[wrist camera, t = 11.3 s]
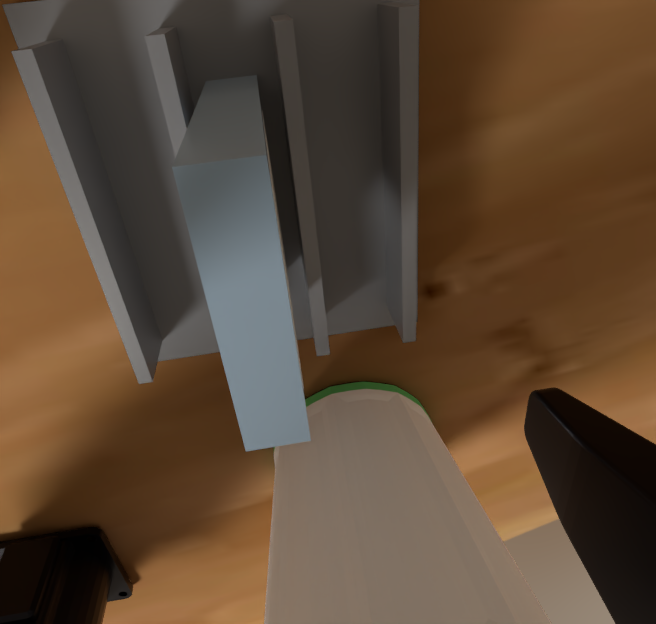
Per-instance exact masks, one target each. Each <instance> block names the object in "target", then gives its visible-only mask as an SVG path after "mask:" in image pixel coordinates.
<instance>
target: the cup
mask: <svg viewBox="0 0 656 624" xmlns="http://www.w3.org/2000/svg"><path fill="white" fill-rule="evenodd" d="M305 402H306V409H307V416H308V423H309V430H310V437H311V441H307V442H301V443H294V444H288V445H282V446H276V447H273V448H274V464H275V479H274V493H273V507H272V521H271V535H270V549H269V563H268V577H267V591H266V605H265V619H264V624H552V623H551V621H550V620H549V618H548V616H547V615H546V613H545V611H544V610H543V608H542V606H541V605H540V603H539V601H538V600H537V598H536V596H535V595H534V593H533V592H532V590H531V588H530V586H529V585H528V583H527V581H526V579H525V578H524V576H523V574H522V573H521V571H520V569H519V568H518V566H517V564H516V563H515V561H514V559H513V558H512V556H511V554H510V553H509V551H508V549H507V548H506V546H505V544H504V543H503V541H502V539H501V538H500V536H499V534H498V533H497V531H496V529H495V528H494V526H493V524H492V523H491V521H490V519H489V518H488V516H487V514H486V512H485V511H484V509H483V507H482V506H481V504H480V502H479V501H478V499H477V497H476V496H475V494H474V492H473V491H472V489H471V487H470V486H469V484H468V482H467V481H466V479H465V477H464V476H463V474H462V472H461V471H460V469H459V467H458V466H457V464H456V462H455V461H454V459H453V457H452V456H451V454H450V452H449V451H448V449H447V447H446V445H445V444H444V442H443V440H442V439H441V437H440V435H439V434H438V432H437V430H436V429H435V427H434V425H433V424H432V421H431V419H430V417H429V416H428V414H427V412H426V410H425V409H424V407H423V406H422V405H421V403H420V402H419V401H418V399H416V398H415V397H413V396H412V395H410V394H409V393H407V392H406V391H404V390H402V389H400V388H398V387H397V386H395V385H388V384H382V383H373V382H356V383H348V384H342V385H336V386H331V387H328V388H326V389H324V390H322V391H320V392H318V393H316V394H314V395H312V396H311V397H309V398H307V399H305Z"/></svg>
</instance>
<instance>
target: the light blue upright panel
mask: <svg viewBox="0 0 656 624" xmlns="http://www.w3.org/2000/svg"><path fill="white" fill-rule="evenodd" d="M172 169H173V173H174V177H175V181H176V185H177V189H178V193H179V196H180V200H181V204H182V208H183V212H184V216H185V220H186V223H187V227H188V231H189V235H190V239H191V243H192V246H193V250H194V254H195V258H196V262H197V266H198V270H199V273H200V277H201V281H202V285H203V289H204V293H205V296H206V300H207V304H208V308H209V312H210V316H211V320H212V323H213V327H214V331H215V335H216V339H217V343H218V347H219V350H220V354H221V358H222V362H223V366H224V370H225V373H226V377H227V381H228V385H229V389H230V393H231V397H232V400H233V404H234V408H235V412H236V416H237V420H238V423H239V427H240V431H241V435H242V439H243V443H244V447H245V450H246V451H252V450H258V449H264V448H270V447H276V446H282V445H288V444H294V443H301V442H307V441H311V437H310V430H309V423H308V416H307V409H306V402H305V395H304V385H303V378H302V371H301V364H300V357H299V350H298V343H297V336H296V329H295V322H294V315H293V308H292V301H291V294H290V288H289V281H288V274H287V267H286V260H285V253H284V247H283V240H282V234H281V227H280V220H279V214H278V207H277V201H276V194H275V188H274V181H273V175H272V168H271V162H270V155H269V149H268V142H267V135H266V129H265V122H264V116H263V111H262V106H261V100H260V93H259V87H258V80H257V75H253V76H244V77H236V78H228V79H220V80H211V81H206V82H205V85H204V87H203V90H202V92H201V95H200V97H199V100H198V103H197V105H196V108H195V110H194V113H193V115H192V118H191V120H190V123H189V125H188V128H187V130H186V133H185V135H184V138H183V140H182V143H181V145H180V148H179V150H178V153H177V156H176V158H175V161H174V163H173V166H172Z"/></svg>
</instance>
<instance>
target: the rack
mask: <svg viewBox="0 0 656 624" xmlns="http://www.w3.org/2000/svg"><path fill="white" fill-rule="evenodd" d="M2 6H3V9H4V11H5V14H6V17H7V19H8V22H9V25H10V27H11V30H12V33H13V35H14V38H15V41H16V43H17V46H18V49H17V50H14V51H11V52H12V54H13V57H14V60H15V62H16V65H17V67H18V70H19V73H20V75H21V78H22V81H23V83H24V86H25V88H26V91H27V94H28V96H29V99H30V101H31V104H32V107H33V109H34V112H35V114H36V117H37V120H38V122H39V125H40V127H41V130H42V133H43V135H44V138H45V140H46V143H47V146H48V148H49V151H50V153H51V156H52V159H53V161H54V164H55V166H56V169H57V172H58V174H59V177H60V180H61V182H62V185H63V187H64V190H65V193H66V195H67V198H68V200H69V203H70V206H71V208H72V211H73V213H74V216H75V219H76V221H77V224H78V226H79V229H80V232H81V234H82V237H83V239H84V242H85V245H86V247H87V250H88V252H89V255H90V258H91V260H92V263H93V266H94V268H95V271H96V273H97V276H98V279H99V281H100V284H101V286H102V289H103V292H104V294H105V297H106V299H107V302H108V305H109V307H110V310H111V312H112V315H113V318H114V320H115V323H116V325H117V328H118V331H119V333H120V336H121V338H122V341H123V344H124V346H125V349H126V351H127V354H128V357H129V359H130V362H131V365H132V367H133V370H134V372H135V375H136V378H137V380H138V383H139V384H142V383H149V382H153V379H154V374H155V370H156V366H157V362H158V361H164V360H171V359H178V358H184V357H191V356H197V355H204V354H210V353H217V352H220V350H219V347H218V343H217V339H216V335H215V331H214V327H213V323H212V320H211V316H210V312H209V308H208V304H207V300H206V296H205V293H204V289H203V285H202V281H201V277H200V273H199V270H198V266H197V262H196V258H195V254H194V250H193V246H192V243H191V239H190V235H189V231H188V227H187V223H186V220H185V216H184V212H183V208H182V204H181V200H180V196H179V193H178V189H177V185H176V181H175V177H174V173H173V169H172V166H173V163H174V161H175V158H176V156H177V153H178V150H179V148H180V145H181V143H182V140H183V138H184V135H185V133H186V130H187V128H188V125H189V123H190V120H191V118H192V115H193V113H194V110H195V108H196V105H197V103H198V100H199V97H200V95H201V92H202V90H203V87H204V85H205V82H206V81H211V80H220V79H228V78H236V77H244V76H253V75H257V80H258V87H259V93H260V100H261V106H262V111H263V116H264V122H265V129H266V135H267V142H268V149H269V155H270V162H271V168H272V175H273V181H274V188H275V194H276V201H277V207H278V214H279V220H280V227H281V234H282V240H283V247H284V253H285V260H286V267H287V274H288V281H289V288H290V294H291V301H292V308H293V315H294V322H295V329H296V336H297V340H302V339H308V338H314V343H315V349H316V354H317V356H323V355H329V354H330V348H329V340H328V335H334V334H341V333H347V332H354V331H361V330H367V329H374V328H380V327H387V326H393V325H396V328H397V330H398V332H399V335H400V337H401V339H402V342H403V343H406V342H413V341H416V322H417V310H418V134H419V0H41V1H31V2H22V3H13V4H4V5H2Z"/></svg>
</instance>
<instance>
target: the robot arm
mask: <svg viewBox="0 0 656 624" xmlns="http://www.w3.org/2000/svg"><path fill="white" fill-rule="evenodd" d="M524 431H525V436H526V440H527V442H528V445H529V447H530V449H531V452H532V454H533V457H534V459H535V462H536V464H537V466H538V469H539V471H540V474H541V476H542V479H543V481H544V483H545V486H546V488H547V491H548V493H549V495H550V498H551V500H552V503H553V505H554V508H555V510H556V512H557V514H558V517H559V519H560V521H561V523H562V525H563V527H564V529H565V531H566V533H567V535H568V537H569V539H570V541H571V543H572V544H573V546H574V548H575V550H576V552H577V554H578V556H579V557H580V559H581V561H582V563H583V565H584V567H585V568H586V570H587V572H588V574H589V576H590V578H591V579H592V581H593V583H594V585H595V587H596V589H597V590H598V592H599V594H600V596H601V598H602V600H603V601H604V603H605V605H606V607H607V609H608V611H609V612H610V614H611V616H612V618H613V620H614V622H615V624H656V444H654V443H652V442H650V441H649V440H647V439H645V438H644V437H642V436H640V435H638V434H637V433H635V432H633V431H631V430H630V429H628V428H626V427H625V426H623V425H621V424H619V423H618V422H616V421H614V420H612V419H611V418H609V417H607V416H605V415H604V414H602V413H600V412H599V411H597V410H595V409H593V408H592V407H590V406H588V405H586V404H585V403H583V402H581V401H579V400H578V399H576V398H574V397H573V396H571V395H569V394H567V393H566V392H564V391H562V390H560V389H558V388H547V389H541V390H535V391H533V392H532V393H531V394H530V396H529V400H528V406H527V412H526V418H525V424H524ZM132 591H133V585H132V584H131V582H130V580H129V578H128V576H127V575H126V573H125V571H124V569H123V567H122V565H121V564H120V562H119V560H118V558H117V556H116V554H115V553H114V551H113V549H112V547H111V545H110V543H109V542H108V540H107V538H106V536H105V534H104V532H103V531H102V530H101V529H100V528H97V527H88V528H83V529H77V530H71V531H65V532H59V533H53V534H48V535H42V536H36V537H30V538H24V539H18V540H13V541H7V542H1V543H0V624H102V622H103V617H104V613H105V609H106V604H107V602H109V601H115V600H120V599H126V598H129V597H130V596H131V595H132Z"/></svg>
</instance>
